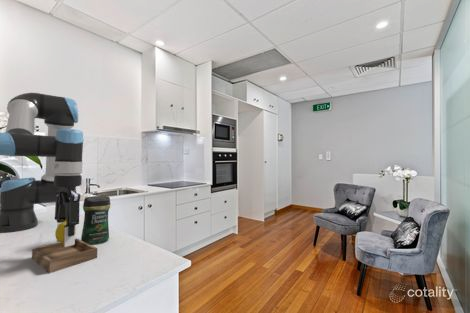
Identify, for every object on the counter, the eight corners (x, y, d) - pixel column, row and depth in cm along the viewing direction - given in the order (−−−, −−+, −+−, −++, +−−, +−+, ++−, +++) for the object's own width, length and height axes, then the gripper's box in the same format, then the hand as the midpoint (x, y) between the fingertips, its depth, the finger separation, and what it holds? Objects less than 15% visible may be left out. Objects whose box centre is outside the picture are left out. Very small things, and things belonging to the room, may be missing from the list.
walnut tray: (31, 258, 74) (32, 249, 74) (76, 246, 85) (76, 238, 85) (49, 273, 65) (50, 262, 66) (97, 257, 76) (97, 248, 76)
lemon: (59, 248, 71) (60, 223, 72) (52, 244, 74) (53, 220, 75) (78, 243, 76) (79, 219, 76) (71, 240, 79) (72, 217, 79)
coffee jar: (82, 247, 85) (84, 198, 85) (79, 241, 91) (81, 195, 91) (111, 242, 91) (112, 196, 92) (106, 236, 97) (108, 193, 97)
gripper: (44, 173, 78) (41, 240, 77) (66, 176, 68) (63, 253, 67) (69, 173, 84) (67, 235, 84) (93, 175, 74) (90, 246, 73)
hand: (65, 243), depth 75 cm, fingers closed on lemon, 5 cm apart
